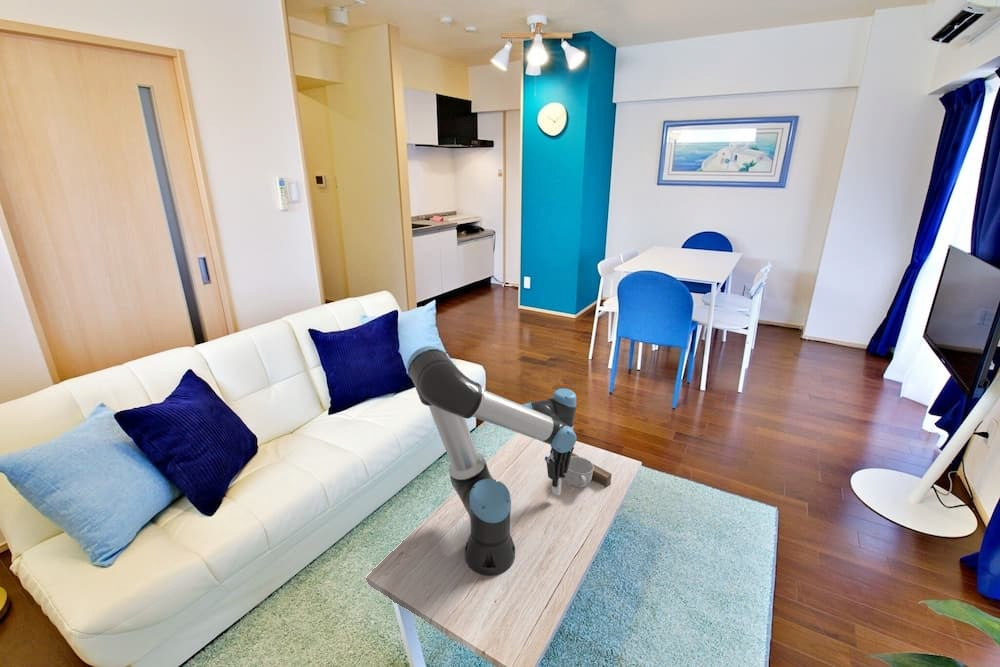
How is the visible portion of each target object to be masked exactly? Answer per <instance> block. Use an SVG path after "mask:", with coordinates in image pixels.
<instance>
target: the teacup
mask: <svg viewBox="0 0 1000 667" xmlns="http://www.w3.org/2000/svg"><path fill="white" fill-rule="evenodd" d="M577 456H578V455H577ZM577 456H576V457H571V458H570V462H569V466H568V470H567V473H564V475H565V478H563V479H564V481H565V482H566V483H567V484H569V485H570V486H571V487H574V488H576V489H577V488H579V489H581V488H585V487H587V486H589V485H590V483H591V482H592V480H591V479H592V474H593V470H594V465H595V464H594V465H593V462H592V461H591V460H589V459H587V458H585V457H583V456H582V457H581V456H579V457H577ZM564 469H565V468H564Z"/></svg>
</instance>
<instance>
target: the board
mask: <svg viewBox="0 0 1000 667" xmlns="http://www.w3.org/2000/svg"><path fill="white" fill-rule="evenodd" d="M576 456H577V457H580V456H578V455H577V454H575V453H574V452H572V454H571V457H576ZM592 464H593V463H592ZM593 465H594V470H593V474H592V479H591V481H593V482H595V483H597V484H599V485H600V486H602V487H604V488H605V489H606V488H607V487H609V486H610V485H611V484H612V483H611V482H612V473H611V472H609V471H607V470H605V469H603V468H602V467H600V466H597V465H596V464H593Z"/></svg>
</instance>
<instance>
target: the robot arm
mask: <svg viewBox="0 0 1000 667" xmlns="http://www.w3.org/2000/svg"><path fill="white" fill-rule="evenodd" d="M408 358H409V359H408V361H407V364H406V367H407V368H406V370H407V374H408V377H409V378H410V379H411V381H412V383H413V385H414V388H415V390H416V393H417V395H418V398H419V399H420V403H421V404H423V405H425V406H426V407H427V406H428V408H429V411H430V413H431V416H432V418H433V421H434V423H435V426H436V429H437V430H438V434H439V437H440V438H441V439H440V440H441V442H442V444H443V446H444V450H445V452H446V454H447V457H448V459H449V462H450V464H449V465H448V474H449V478H450V479H449V480H450V482H451V485H452V487H453V489H454V491H455V492H456V494H457V496H458V497H459V499H460V501H461V502H462V504H463V506H464V508H465V510H466V512H467V514H468V515H469V522H470V534H469V536H468V539H467V541H466V544H465V547H464V558H465V562H466V564H467V566H468V567H469V568H470V569H471V570H472V571H473V572H476V573H477V574H481V575H483V576H495V575H499V574H502V573H504V572H506V571H507V570H509V569H510V568H511V567H512V566H513V564H514V562H515V559H516V547H515V543H514V540H513V538H512V536H511V510H512V509H511V508H512V499H511V494H510V493H511V492H510V490H509V488H508V487H507V486H506V485H505V483H503V482H502V481H500V480H499V481H497V480H496V479H494V478H493V476H492V475H491V472H490V471H489V468H488V465H487V461H486V459H485V456H484V455H483V454H482V453H480V452H478V451H477V449H476V446H475V445H476V444H475V443H474V442H475V441H474V440H473V438H472V437H473V436H472V434H471V431H470V429H469V426H468V422H467V419H472V418H475V419H478V420H481V421H483V422H487V423H489V424H493V425H495V426H498V427H500V428H503V429H505V430H508V431H512V432H515V433H518V434H520V435H523V436H525V437H528V438H531V439H534V440H537V441H539V442H542V443H545V444H548V445H550V447H551V449H550V451H549V453H550V454H549V456H545V457H544V461H545V463H546V468H547V469H546V470H547V471H546V472H547V478H548V479H550V480H551V487H552V488H551V492H552V493H553V494H555V495H556V496H559V495H561V492H562V484H563V479H564V478H565V475H564V473H567V470H568V466H569V462H570V458H571V454H572V453H574V452H573V451H574V449H575V445H576V442H577V434H576V432H575V431H574V426H575V425H574V424H575V416H576V408H577V395H576V393H575V391H573V390H571V389H568V388H558V389H556V390H554V392H553V395H552V397H550V398H547V399H543V400H536V401H535V400H534V401H529V402H526V403H523V404H520V403H517V402H516V401H512V400H510V399H508V398H506V397H503V396H500V395H498V394H496V393H493V392H490V391H488V390H485V389H484V388H483V385H482V384H480V383H479V382H476V381H474V380H473V379H470V378H469V377H468V376H466V375H465V374H464V373H463V372H462V371H461V370H460V369H459V368H458V367H457V366H456V365H455V364H454V363H453V361H452V360H451V358H449V356H448V354H447V353H446V352H445V351H444V350H443V349H442V348H441V349H440V347H437V346H433V345H427V346H422V347H420V348H417V350H415V351H414V352H413V353H412V354H410V357H408ZM564 468H565V469H564Z"/></svg>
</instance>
